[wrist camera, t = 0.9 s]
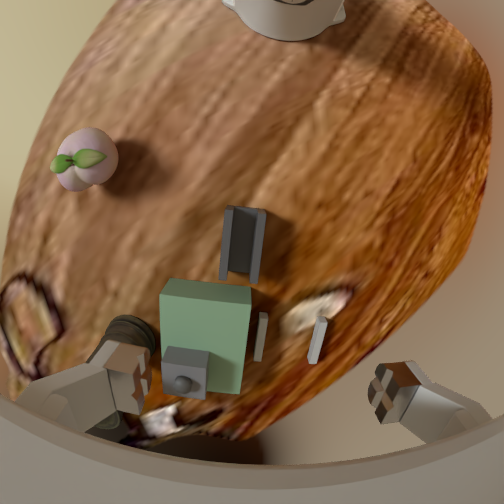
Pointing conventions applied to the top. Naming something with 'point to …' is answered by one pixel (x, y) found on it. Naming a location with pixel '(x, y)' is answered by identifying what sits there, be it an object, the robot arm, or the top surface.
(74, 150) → the decorative fruit
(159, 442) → the top surface
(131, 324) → the container
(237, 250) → the chute
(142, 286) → the top surface
